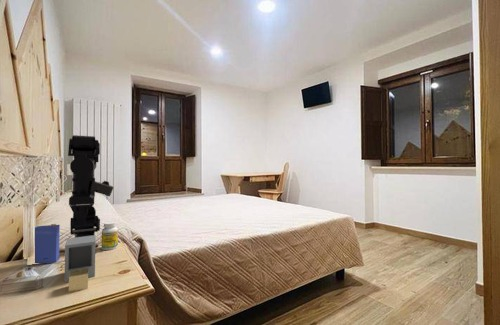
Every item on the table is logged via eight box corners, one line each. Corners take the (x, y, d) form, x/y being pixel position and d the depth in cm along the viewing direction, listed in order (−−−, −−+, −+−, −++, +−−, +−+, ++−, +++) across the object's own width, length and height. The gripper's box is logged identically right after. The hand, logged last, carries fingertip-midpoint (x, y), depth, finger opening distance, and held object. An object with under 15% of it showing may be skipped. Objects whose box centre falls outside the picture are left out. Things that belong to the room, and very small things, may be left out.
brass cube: (70, 285, 66) (70, 270, 66) (88, 282, 68) (88, 267, 68) (68, 292, 62) (68, 277, 62) (87, 288, 65) (87, 273, 65)
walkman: (59, 259, 83) (59, 223, 83) (56, 262, 80) (56, 225, 80) (29, 262, 80) (30, 225, 80) (25, 265, 77) (25, 227, 77)
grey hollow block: (67, 272, 74) (67, 238, 74) (95, 267, 77) (95, 235, 77) (64, 282, 68) (64, 245, 68) (94, 276, 71) (95, 241, 71)
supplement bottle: (117, 244, 98) (117, 220, 98) (118, 248, 93) (118, 223, 93) (101, 247, 95) (101, 222, 95) (101, 251, 90) (102, 225, 90)
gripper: (113, 175, 77) (112, 226, 77) (110, 172, 93) (110, 214, 93) (69, 176, 71) (68, 230, 71) (74, 173, 87) (73, 217, 87)
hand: (83, 222), depth 80 cm, fingers open, 9 cm apart
